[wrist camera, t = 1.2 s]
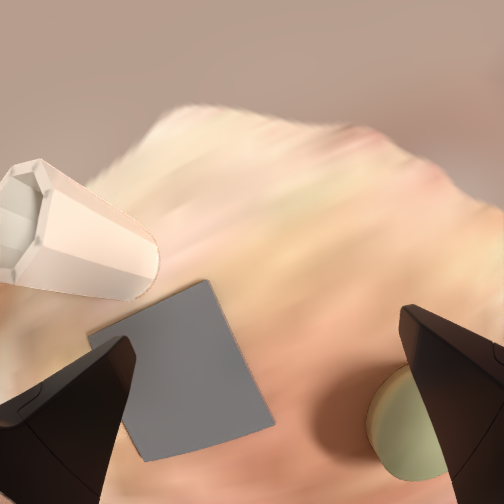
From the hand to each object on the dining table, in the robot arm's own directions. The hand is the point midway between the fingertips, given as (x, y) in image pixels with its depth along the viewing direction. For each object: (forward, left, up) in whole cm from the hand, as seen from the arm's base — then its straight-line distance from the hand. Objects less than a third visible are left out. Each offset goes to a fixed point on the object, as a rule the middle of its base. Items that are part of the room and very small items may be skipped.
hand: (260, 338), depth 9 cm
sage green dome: (+3, -13, -13) cm, 19 cm away
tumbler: (-6, +12, -13) cm, 19 cm away
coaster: (-9, +2, -13) cm, 16 cm away
